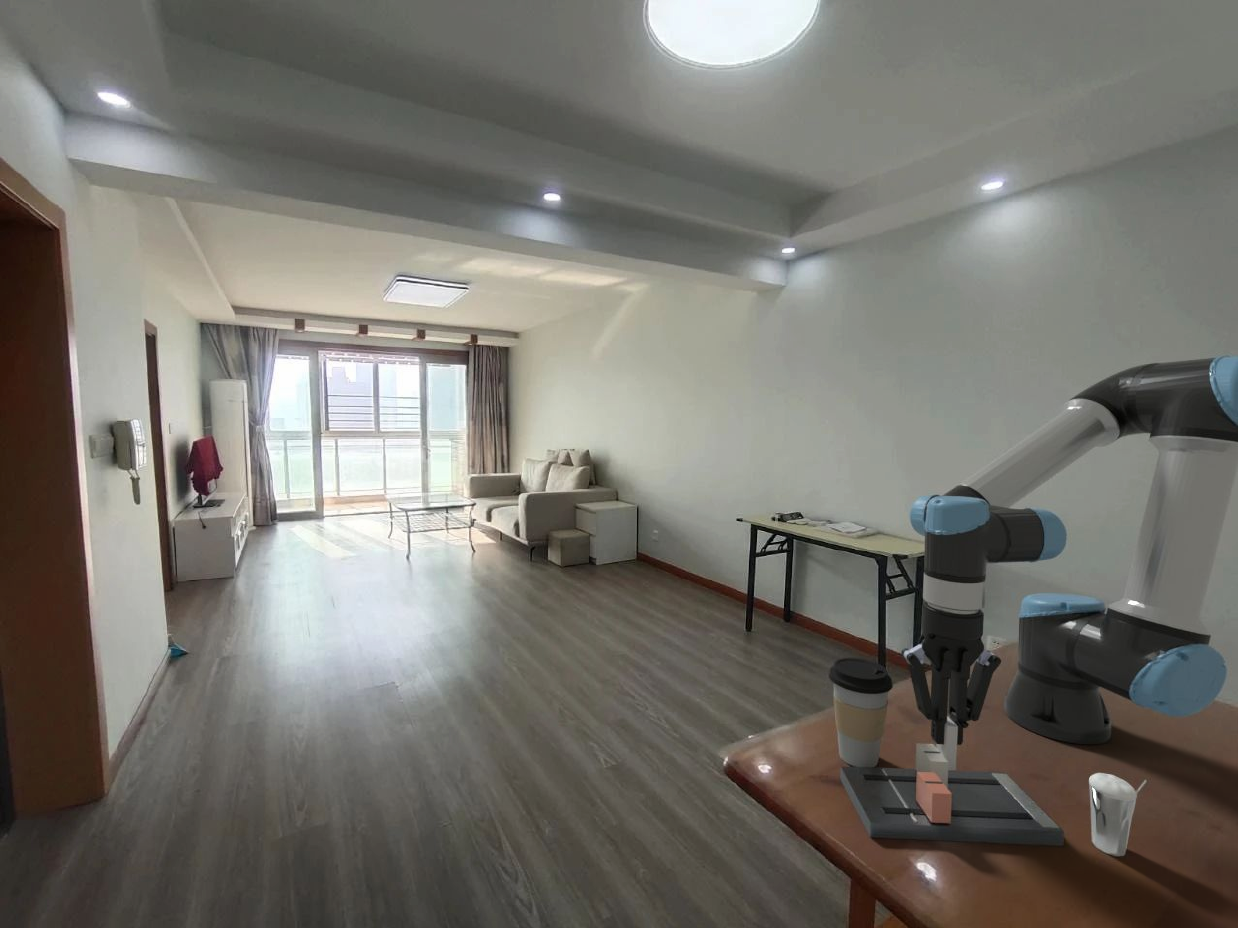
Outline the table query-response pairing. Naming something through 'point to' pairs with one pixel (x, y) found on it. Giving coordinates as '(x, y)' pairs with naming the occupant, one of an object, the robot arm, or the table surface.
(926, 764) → the fader
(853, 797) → the console
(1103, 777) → the milkshake
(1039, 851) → the table surface
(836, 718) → the coffee cup
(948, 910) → the table surface
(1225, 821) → the table surface
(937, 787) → the fader
